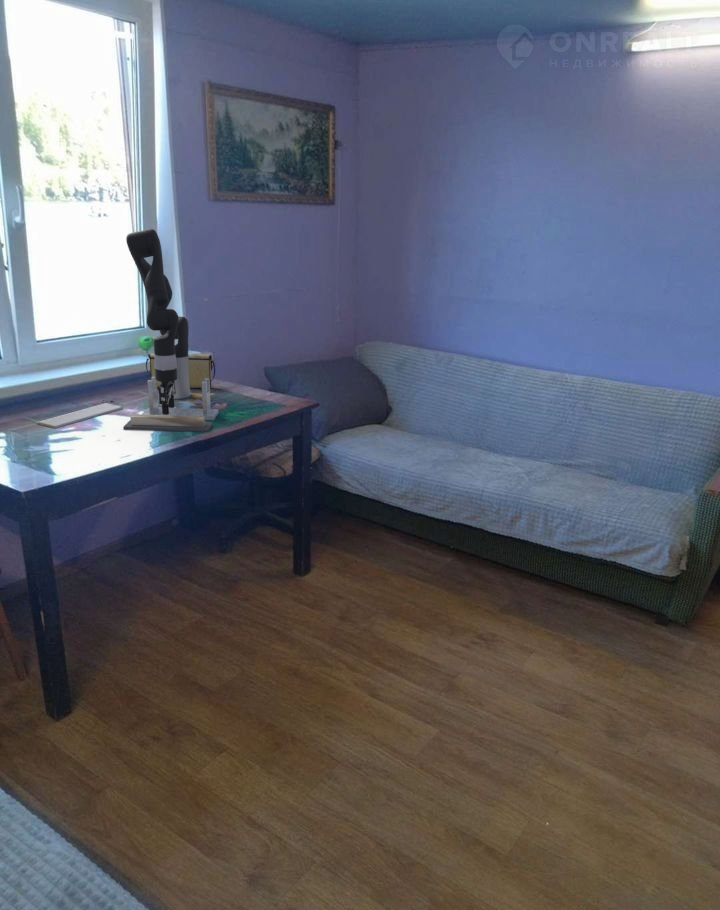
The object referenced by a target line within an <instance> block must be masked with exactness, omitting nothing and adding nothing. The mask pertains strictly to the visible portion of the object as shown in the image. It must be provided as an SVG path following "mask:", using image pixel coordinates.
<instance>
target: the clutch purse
mask: <svg viewBox="0 0 720 910" xmlns="http://www.w3.org/2000/svg"><path fill="white" fill-rule="evenodd" d="M154 357H155V354H154V353H148V354H147V358H146V362H145V368H146V369H145V370H146V372H147V374H148V375H149V376H150V379H151V378H152V377H155V365H154ZM188 357H189V376H190V389H195V388H196V389H197V388H198V389H199V388H200V389H202V382H205V381H204V379H205V378H208V379H209V380H210V389H212V385H213V384H212V382H213V381H214V379H215V376H216V365H215V364H216V363H215V362H214V361H215V359H213V357H212V354H189V353H188ZM148 361H149V371H150V373H149V371H148ZM212 371H213V375H212ZM161 384H162V383H161V382H160V381H157V388H159V387H160V386H161Z"/></svg>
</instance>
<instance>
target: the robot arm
mask: <svg viewBox="0 0 720 910" xmlns="http://www.w3.org/2000/svg"><path fill="white" fill-rule="evenodd" d="M125 241H126V246H127V248H128V251H129V253H130V255H131V257H132V260H133V261H134V263H135V266H136V268H137V270H138V272H139V275H140V277H141V280H142V283H143V284H142V285H143V287H144V289H145V291H144V292H145V295H146V299H147V315H146V325H147V326H148V328H149V329H150V330H152V331H159V332H160V336H157V337H155V338H154V340H153V349H154V353H153V354H155V357H154V365H155V379H156V380H157V381H160V382H161V383H162V384H161V386H160V387H158V404H159V405H161V408H162V414H163V415H168V414H169V408H176V407H175V399H178V400H179V399H181V400H183V399H187V398H190V397H191V388H190V376H189V357H188V354H189V323H188V322H189V321H188V319H187V318H186V316H179V313H177V311H176V310H175V309H172V308H168V306H169V305H170V303H171V301H172V298H173V290H172V287H171V284H170V281H169V279H168V277H167V276H166V275H165V274H164V260H163V251H162V250H163V249H162V245H161V241H160V237H159V235H158V233H157V231H156V230H155V229H153V228H148V229H143V230H138V231H133V232H130V233H128V234H127V235H126V238H125ZM151 257H152V262H151V264H150V263H149V262H148V261H147V260H146V259H145V258H151ZM176 340H177V344H175V341H176Z"/></svg>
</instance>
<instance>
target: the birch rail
mask: <svg viewBox="0 0 720 910" xmlns="http://www.w3.org/2000/svg"><path fill="white" fill-rule="evenodd" d="M130 420H131V425H159V426H196V427H204V426H205V422H206V420H205V416H174V415H141V414H136V413H135V414H134V413H133V414H132V415H130Z"/></svg>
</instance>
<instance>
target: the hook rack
mask: <svg viewBox="0 0 720 910" xmlns="http://www.w3.org/2000/svg"><path fill="white" fill-rule="evenodd" d="M204 381H205V382H202V388H201V398H202V401H201V402H202V408H189V407H188V408H187V407H174V408H169V414H168V415H174V416H205V421H215V420H216V418H217V416H218V415H219V408H218V409H217V408H211V388H210V380H209V379H208V378H205V379H204ZM147 393H148V395H147V396H148V407H147V408H146V409H145V410H144V411H143V412H142V413H141V414H140V415H163V414H162V407H159V390H158V387H157V380H156V379H155V377H152V378H151V377H150V379H148V380H147Z"/></svg>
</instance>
